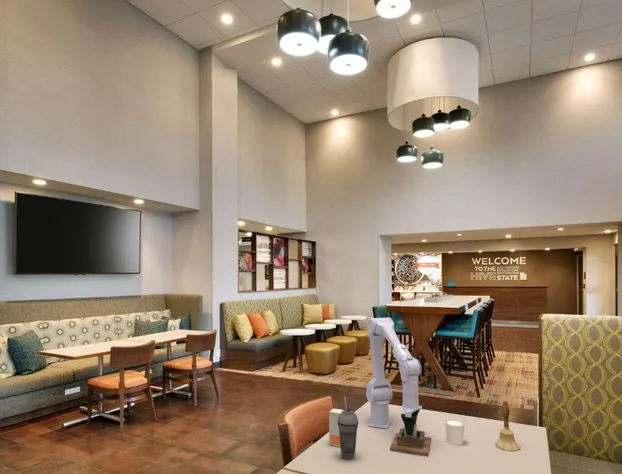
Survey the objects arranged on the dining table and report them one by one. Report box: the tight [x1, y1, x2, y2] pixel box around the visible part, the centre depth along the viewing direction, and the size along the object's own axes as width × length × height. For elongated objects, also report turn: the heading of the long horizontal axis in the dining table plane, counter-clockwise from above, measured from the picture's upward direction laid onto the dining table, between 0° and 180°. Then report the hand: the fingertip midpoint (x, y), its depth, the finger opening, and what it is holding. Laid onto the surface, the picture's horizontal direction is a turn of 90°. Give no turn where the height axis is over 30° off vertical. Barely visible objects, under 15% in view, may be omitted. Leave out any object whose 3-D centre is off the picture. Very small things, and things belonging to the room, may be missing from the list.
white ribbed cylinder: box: [444, 419, 465, 446], centre depth 156 cm, size 7×7×7 cm
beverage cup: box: [337, 395, 359, 461], centre depth 144 cm, size 7×7×20 cm
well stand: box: [389, 428, 432, 457], centre depth 153 cm, size 15×13×4 cm
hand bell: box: [494, 400, 521, 452], centre depth 153 cm, size 8×8×16 cm
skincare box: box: [328, 408, 345, 448], centre depth 154 cm, size 6×4×12 cm
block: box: [403, 423, 418, 438], centre depth 153 cm, size 4×4×6 cm
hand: (411, 431), depth 153 cm, fingers open, 7 cm apart
